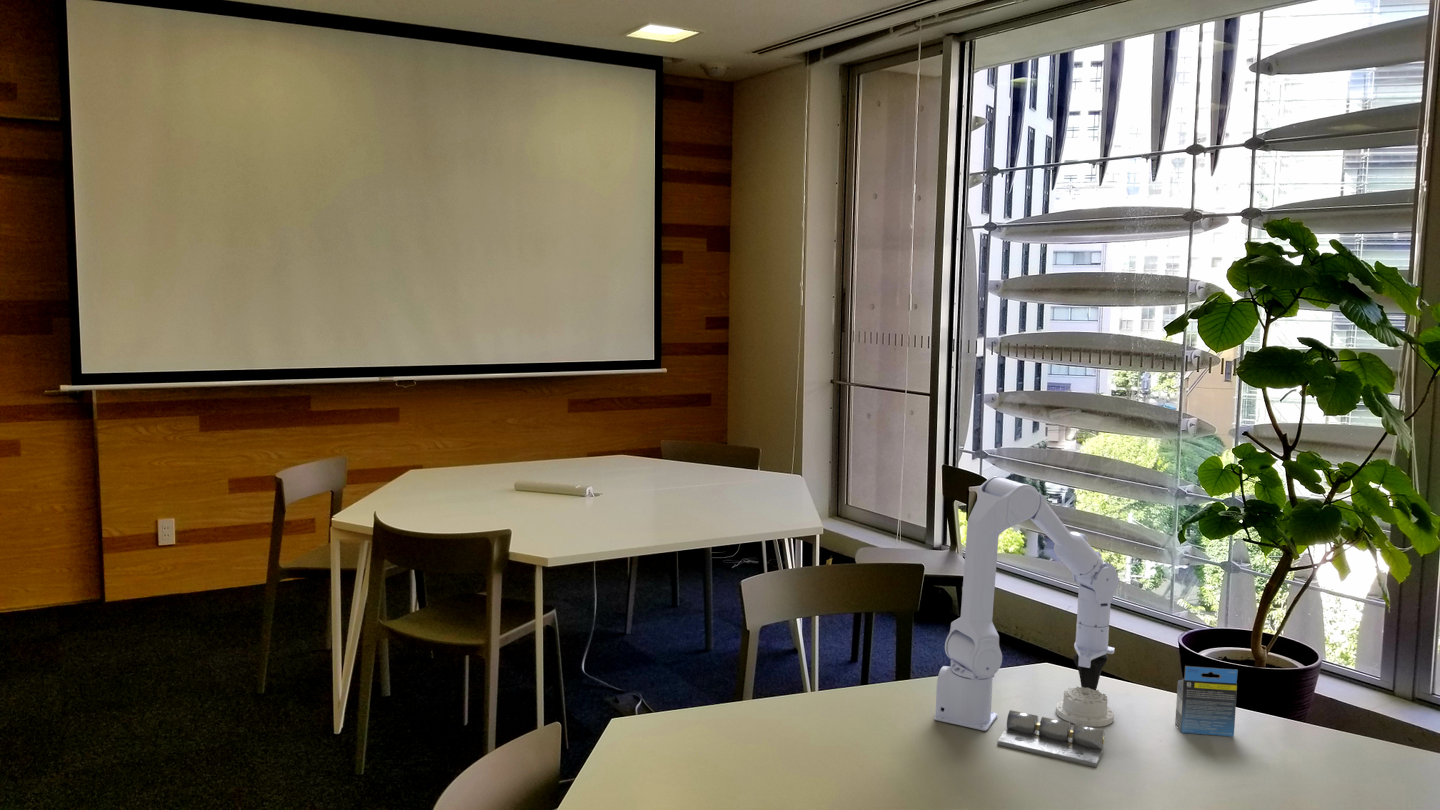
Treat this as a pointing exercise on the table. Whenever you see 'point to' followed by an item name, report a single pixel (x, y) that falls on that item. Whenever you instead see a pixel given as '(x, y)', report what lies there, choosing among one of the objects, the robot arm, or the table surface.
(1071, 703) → the mechanical component
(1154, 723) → the table surface
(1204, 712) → the blue ink cartridge box
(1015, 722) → the hinge leaf
